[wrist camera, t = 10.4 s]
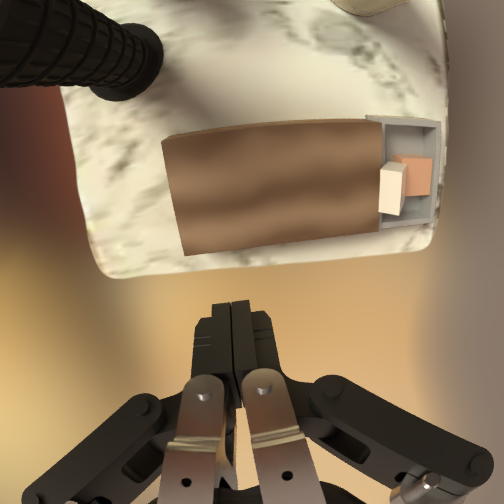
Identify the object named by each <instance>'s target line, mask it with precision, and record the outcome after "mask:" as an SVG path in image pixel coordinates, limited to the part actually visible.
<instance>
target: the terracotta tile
mask: <svg viewBox="0 0 504 504" xmlns="http://www.w3.org/2000/svg"><path fill="white" fill-rule="evenodd" d="M392 162H397V163H404V164H407V172H406V188H405V196H419V195H430V186H431V175H432V162H433V159H432V158H430V157H427V156H424V155H419V154H393V158H392Z"/></svg>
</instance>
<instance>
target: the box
mask: <svg viewBox="0 0 504 504" xmlns="http://www.w3.org/2000/svg"><path fill="white" fill-rule="evenodd" d="M365 116H366V120H371V121H376V122H381V123H382V167H383V166H384V165H385V164H386V163H387V162H388V161H389V162H392V158H393V154H419V155H424V156H427V157H430V158H432V159H433V162H432V175H431V186H430V195H419V196H405V201H404V204H403V207H402V209H401V212H400V214H399V216H398V215H393V214H387V213H382V212H380V217H379V229H383V228H392V227H400V226H408V225H416V224H425V223H433V220H434V213H435V205H436V197H437V188H438V177H439V164H440V146H441V122H439V121H435V120H430V119H424V118H413V117H399V116H380V115H365Z"/></svg>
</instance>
